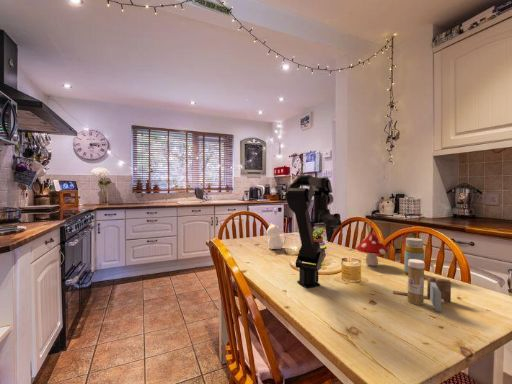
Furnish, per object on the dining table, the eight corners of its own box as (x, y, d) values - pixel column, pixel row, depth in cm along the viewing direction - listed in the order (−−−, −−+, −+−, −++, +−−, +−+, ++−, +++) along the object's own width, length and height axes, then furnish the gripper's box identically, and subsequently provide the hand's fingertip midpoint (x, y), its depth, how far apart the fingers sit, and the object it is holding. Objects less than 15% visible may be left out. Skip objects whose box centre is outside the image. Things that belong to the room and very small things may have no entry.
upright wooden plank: (448, 300, 83) (449, 279, 83) (450, 302, 81) (451, 281, 81) (392, 291, 90) (393, 272, 90) (393, 293, 88) (393, 274, 88)
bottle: (422, 272, 109) (422, 238, 108) (425, 278, 103) (425, 241, 102) (403, 270, 112) (403, 236, 111) (405, 275, 105) (405, 239, 105)
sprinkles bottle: (404, 300, 82) (405, 259, 82) (412, 297, 85) (413, 257, 84) (419, 306, 78) (420, 263, 78) (426, 303, 81) (427, 261, 80)
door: (430, 298, 83) (430, 282, 83) (437, 300, 82) (438, 283, 82) (435, 310, 75) (436, 292, 75) (444, 312, 74) (444, 293, 74)
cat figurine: (263, 248, 153) (263, 223, 152) (281, 245, 158) (281, 221, 158) (271, 251, 145) (270, 225, 144) (289, 248, 150) (289, 223, 149)
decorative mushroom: (395, 269, 113) (396, 236, 113) (367, 271, 111) (367, 237, 111) (376, 260, 127) (376, 230, 127) (350, 261, 125) (350, 231, 125)
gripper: (314, 209, 97) (314, 249, 97) (351, 207, 105) (350, 244, 105) (298, 206, 107) (297, 243, 107) (332, 205, 115) (332, 239, 115)
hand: (320, 242), depth 108 cm, fingers open, 9 cm apart
